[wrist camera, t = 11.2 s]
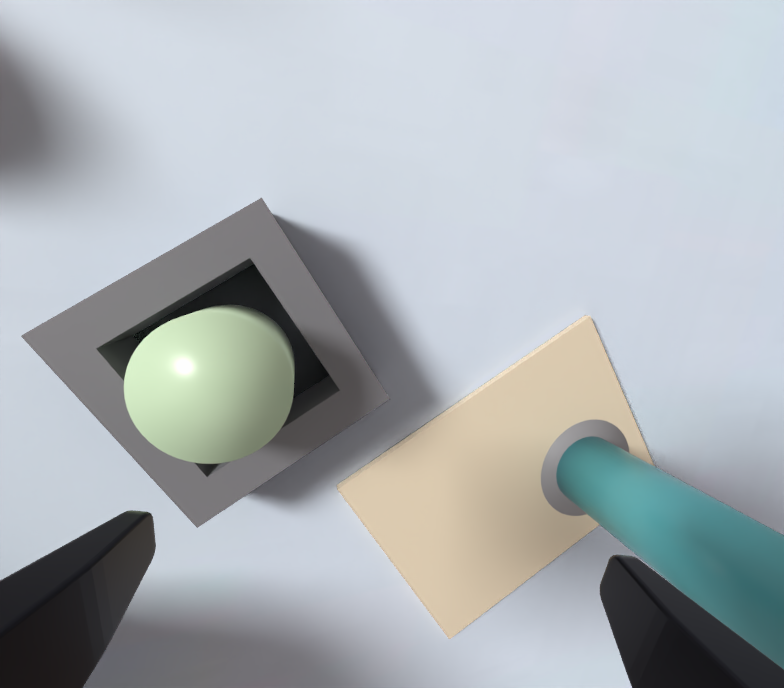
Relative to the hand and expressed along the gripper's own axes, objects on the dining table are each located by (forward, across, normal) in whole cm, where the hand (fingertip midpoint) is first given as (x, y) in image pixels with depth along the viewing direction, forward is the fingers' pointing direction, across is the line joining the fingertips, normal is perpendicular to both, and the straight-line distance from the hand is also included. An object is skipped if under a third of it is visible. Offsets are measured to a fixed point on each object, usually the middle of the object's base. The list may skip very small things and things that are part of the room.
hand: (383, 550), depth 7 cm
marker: (+13, -12, +6) cm, 19 cm away
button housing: (+10, +7, 0) cm, 12 cm away
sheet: (+12, -8, +7) cm, 16 cm away
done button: (+8, +6, 0) cm, 10 cm away
